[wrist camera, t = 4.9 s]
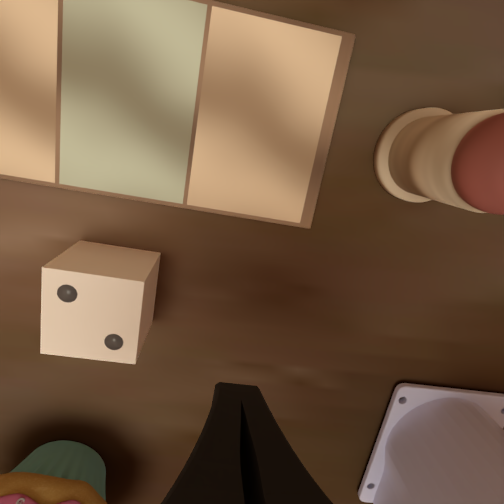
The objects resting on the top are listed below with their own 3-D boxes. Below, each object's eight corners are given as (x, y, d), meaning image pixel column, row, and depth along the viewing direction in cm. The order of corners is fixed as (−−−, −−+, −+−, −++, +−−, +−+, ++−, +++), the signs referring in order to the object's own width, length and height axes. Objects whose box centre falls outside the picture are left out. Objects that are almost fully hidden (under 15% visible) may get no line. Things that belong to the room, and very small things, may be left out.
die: (152, 320, 19) (135, 364, 16) (77, 310, 19) (40, 353, 15) (161, 252, 18) (144, 282, 15) (80, 239, 18) (41, 267, 14)
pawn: (441, 206, 19) (582, 250, 11) (362, 191, 18) (457, 228, 11) (471, 118, 17) (651, 104, 10) (387, 100, 17) (514, 70, 9)
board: (309, 228, 18) (310, 228, 18) (-93, 162, 16) (-95, 163, 16) (355, 35, 16) (355, 34, 16) (-117, -78, 13) (-120, -79, 13)
